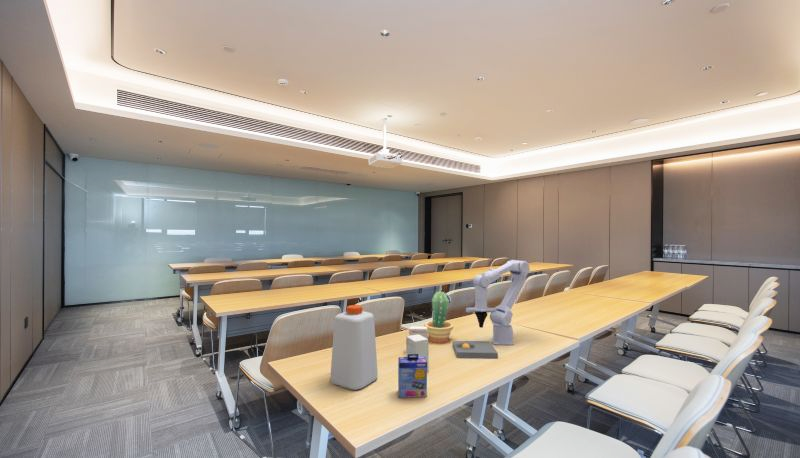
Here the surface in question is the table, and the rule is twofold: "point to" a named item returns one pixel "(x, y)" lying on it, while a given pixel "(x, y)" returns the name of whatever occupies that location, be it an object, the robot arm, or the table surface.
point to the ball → (465, 345)
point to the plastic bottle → (354, 349)
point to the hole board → (475, 349)
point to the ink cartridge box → (412, 376)
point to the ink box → (418, 331)
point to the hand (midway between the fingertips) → (480, 327)
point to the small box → (417, 346)
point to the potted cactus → (439, 318)
